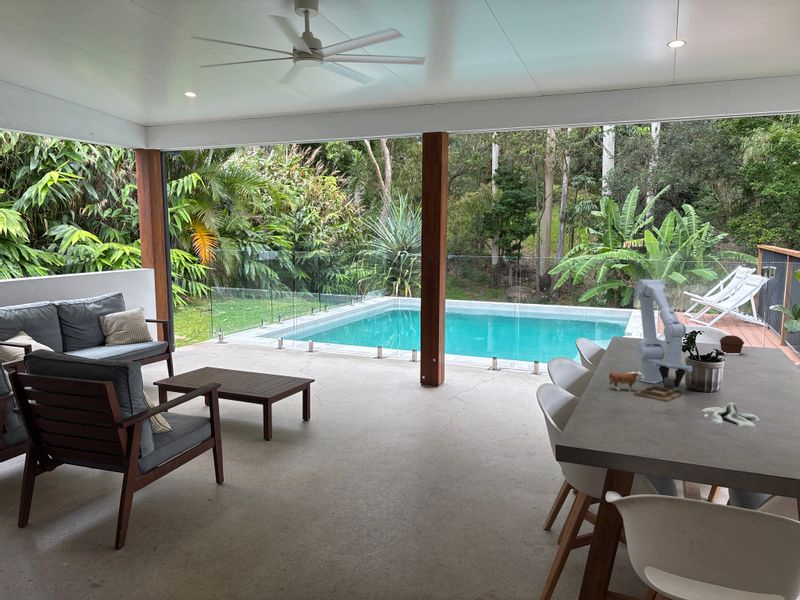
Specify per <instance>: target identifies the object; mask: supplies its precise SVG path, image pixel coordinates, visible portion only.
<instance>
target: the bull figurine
mask: <svg viewBox="0 0 800 600" xmlns="http://www.w3.org/2000/svg"><path fill="white" fill-rule="evenodd" d="M608 378H609V380H610V382H609V385H610V389H611V390H614V389H616V391H619V392H621V389H620V388H619V386H618V385H619V384H620V386H623V385H626V384H627V385H628V388H627V389H628V390H627V391H629V392H632V391H634V388H633V386H634V385H635V384H636V383H637V382H639V381H638V380H641V379H644V377H643V375H642V373H641V370H638V371H637V372H636V371H631V372H610V373H609V375H608Z"/></svg>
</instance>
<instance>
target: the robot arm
mask: <svg viewBox="0 0 800 600" xmlns="http://www.w3.org/2000/svg"><path fill="white" fill-rule="evenodd" d="M665 291H666V284H665V281H664V280H663V279H661V278H660V279H644V278H641V279H639V280H638V282H637V285H636V293H637V299H638V300H639V305H640V312H641V313H640V314H641V316H640V317H641V325H642V334H643V339H641V340H640V341H639V342H638V343H637V351H636V352H637V353H636V354H637V357H638V358H639V360H640V361H641V363H640V364H641V365H640V373H642V375H643V377H644V379H641V380H638V381H637V382H643V383H648V384H654V385H655V384H658V383H661V382H662V383H663V384H664V377H667V376H669V372H670V369H673V370H674V369H675V370H674V371H675V373H674V374H675V377H676V383H675V387H676V388H678V387H679V388H680V384H681V383H682V380H683V378H684V375H685V374H686V373H687V372H689V373H690V372H693V365H689V364H688V365H687V364H683V363H681V362H682V361H681V360H682V350H683V349H682V348H683V338H684V337H685V336H686V334H687V329H686V328H687V327H686V326H685V324H684V323H683V322H682V321H681V320H679V319H678V316H677V315H676V314H677V313H676V312H675V309H673V308H672V307H670V305H669V303H668V300H667V297H666V294H665ZM654 302H655V304H657V307H658V308H659V311H660V312H659V313H658V315H659V317H660V320H661V322H662V324H663V326H664V329H663V335H664V340H665V348H664V345H663V341H662V340H660V339H659V338H657V337H658V336H657V328H656V319H655V309H654Z"/></svg>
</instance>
